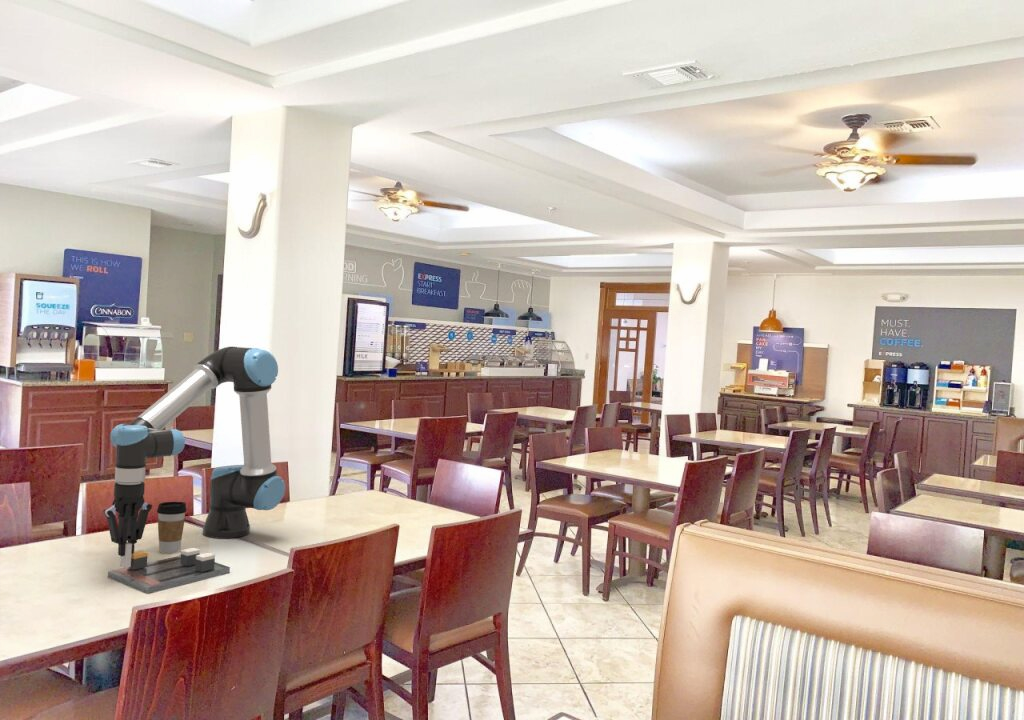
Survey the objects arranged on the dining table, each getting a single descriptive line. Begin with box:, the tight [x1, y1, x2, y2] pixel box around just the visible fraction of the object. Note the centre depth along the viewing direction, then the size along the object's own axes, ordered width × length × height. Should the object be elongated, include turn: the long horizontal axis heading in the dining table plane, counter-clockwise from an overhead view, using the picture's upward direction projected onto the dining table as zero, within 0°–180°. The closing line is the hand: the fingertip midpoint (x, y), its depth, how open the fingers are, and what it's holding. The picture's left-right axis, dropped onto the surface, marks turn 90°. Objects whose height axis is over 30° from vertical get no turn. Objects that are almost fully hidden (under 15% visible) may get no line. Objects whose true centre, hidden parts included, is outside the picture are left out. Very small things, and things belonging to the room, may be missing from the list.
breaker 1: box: [180, 547, 201, 566], centre depth 220 cm, size 4×3×4 cm
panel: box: [107, 555, 231, 595], centre depth 215 cm, size 25×19×2 cm
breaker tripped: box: [129, 550, 149, 570], centre depth 214 cm, size 4×3×4 cm
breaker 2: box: [195, 552, 216, 572], centre depth 216 cm, size 4×3×4 cm
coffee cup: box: [156, 501, 187, 555], centre depth 237 cm, size 8×8×15 cm
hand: (125, 566), depth 211 cm, fingers closed
